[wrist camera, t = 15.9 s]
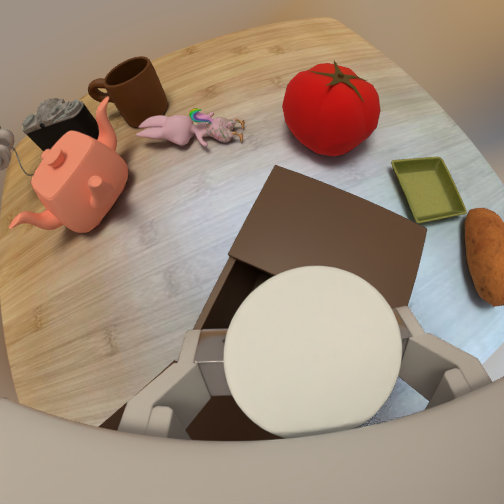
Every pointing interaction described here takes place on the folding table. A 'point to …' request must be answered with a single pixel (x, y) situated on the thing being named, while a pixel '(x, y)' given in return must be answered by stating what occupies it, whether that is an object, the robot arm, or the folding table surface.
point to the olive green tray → (428, 188)
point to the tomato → (330, 109)
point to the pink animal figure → (189, 127)
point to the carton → (315, 243)
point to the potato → (486, 254)
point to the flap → (213, 422)
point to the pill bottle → (312, 352)
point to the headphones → (7, 149)
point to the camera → (59, 122)
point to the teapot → (78, 179)
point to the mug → (132, 90)
